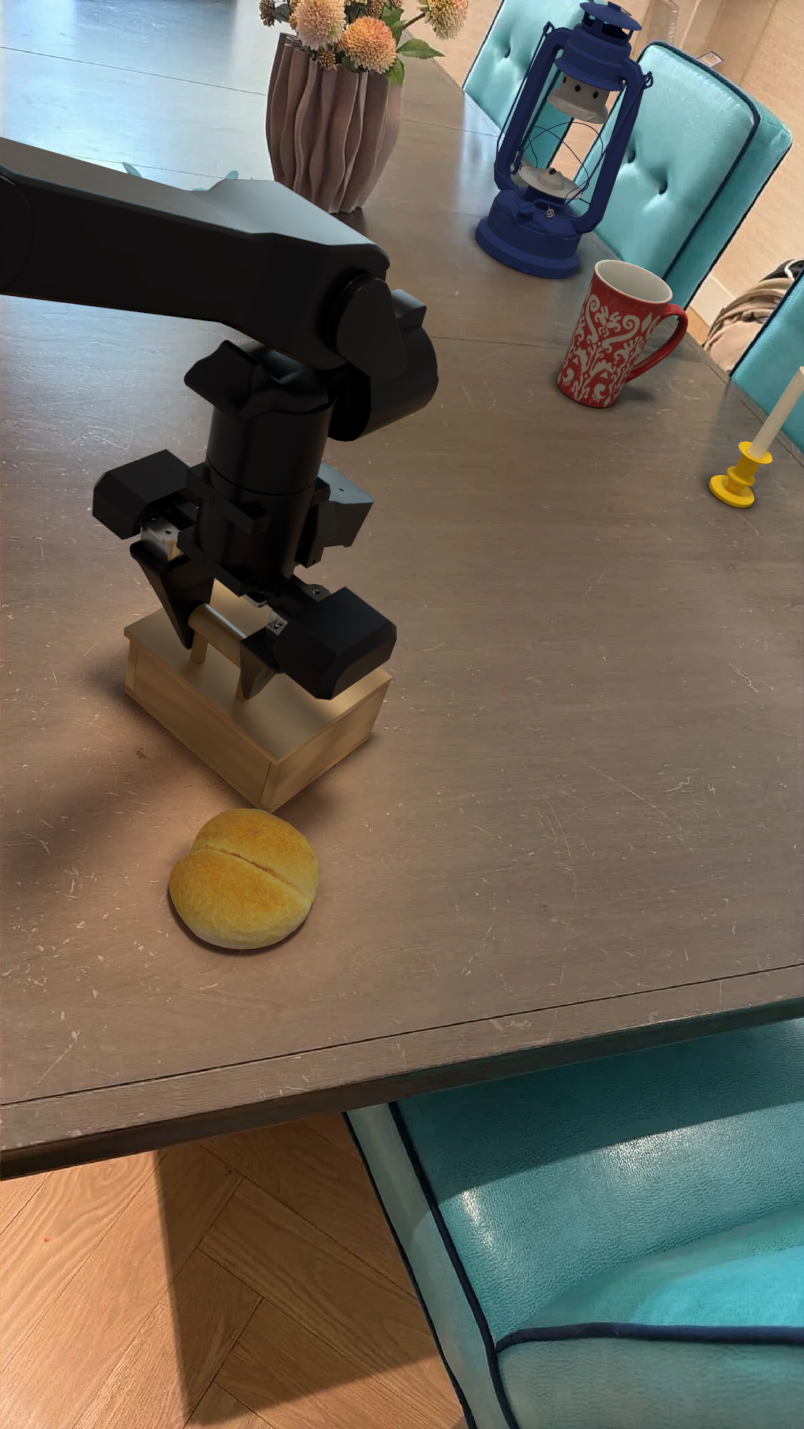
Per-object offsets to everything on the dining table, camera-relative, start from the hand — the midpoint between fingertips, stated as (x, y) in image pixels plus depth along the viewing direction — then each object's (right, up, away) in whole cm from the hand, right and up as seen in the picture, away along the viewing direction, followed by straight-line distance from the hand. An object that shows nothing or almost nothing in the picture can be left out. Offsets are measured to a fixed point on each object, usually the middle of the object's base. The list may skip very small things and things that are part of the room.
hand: (221, 670), depth 62 cm
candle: (+47, +22, +48) cm, 71 cm away
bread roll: (+2, -13, -1) cm, 13 cm away
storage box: (+1, -3, +8) cm, 8 cm away
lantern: (+29, +62, +78) cm, 104 cm away
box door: (+2, +1, +4) cm, 4 cm away
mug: (+34, +35, +55) cm, 74 cm away
